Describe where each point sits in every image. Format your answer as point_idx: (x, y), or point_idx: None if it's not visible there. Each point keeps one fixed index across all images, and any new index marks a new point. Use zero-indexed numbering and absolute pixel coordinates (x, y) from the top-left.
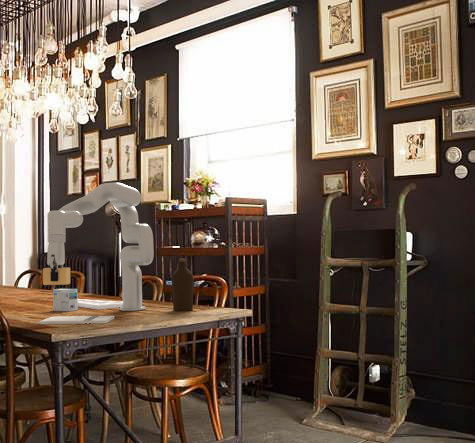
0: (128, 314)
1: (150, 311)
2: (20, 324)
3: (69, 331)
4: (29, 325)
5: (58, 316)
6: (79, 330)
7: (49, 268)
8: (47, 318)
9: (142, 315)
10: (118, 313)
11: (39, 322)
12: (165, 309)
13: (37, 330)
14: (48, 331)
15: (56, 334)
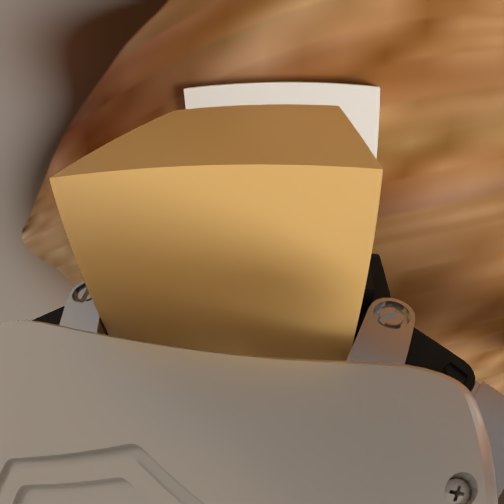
0: (443, 346)
1: (480, 375)
2: (183, 3)
3: (62, 260)
4: (150, 62)
5: (378, 121)
6: (82, 280)
7: (88, 290)
8: (296, 85)
9: None
10: (485, 316)
11: (185, 88)
12: (498, 390)
13: (51, 164)
14: (46, 206)
15: (25, 243)
